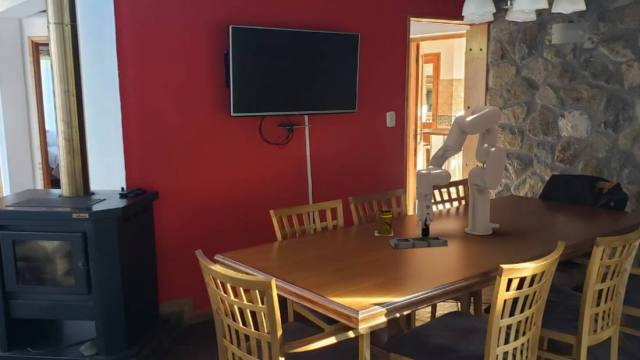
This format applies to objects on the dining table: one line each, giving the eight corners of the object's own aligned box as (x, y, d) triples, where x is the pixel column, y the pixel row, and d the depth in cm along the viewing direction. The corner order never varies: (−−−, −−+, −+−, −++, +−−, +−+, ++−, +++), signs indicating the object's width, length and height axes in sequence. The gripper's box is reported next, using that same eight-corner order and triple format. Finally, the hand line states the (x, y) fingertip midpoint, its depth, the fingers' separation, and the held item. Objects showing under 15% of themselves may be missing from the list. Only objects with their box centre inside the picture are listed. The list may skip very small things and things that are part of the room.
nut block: (426, 236, 265) (426, 218, 263) (429, 238, 261) (429, 220, 260) (418, 236, 264) (418, 219, 263) (421, 238, 260) (421, 221, 259)
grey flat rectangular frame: (441, 241, 257) (441, 235, 256) (447, 246, 249) (447, 240, 248) (389, 243, 253) (389, 238, 253) (394, 248, 245) (394, 243, 245)
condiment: (393, 235, 267) (393, 211, 265) (374, 235, 268) (375, 210, 266) (392, 231, 274) (392, 207, 272) (374, 231, 275) (375, 207, 273)
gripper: (438, 199, 252) (438, 239, 255) (426, 192, 268) (426, 230, 271) (422, 200, 251) (422, 240, 254) (411, 193, 267) (410, 231, 270)
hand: (424, 234), depth 262 cm, fingers closed on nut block, 4 cm apart
